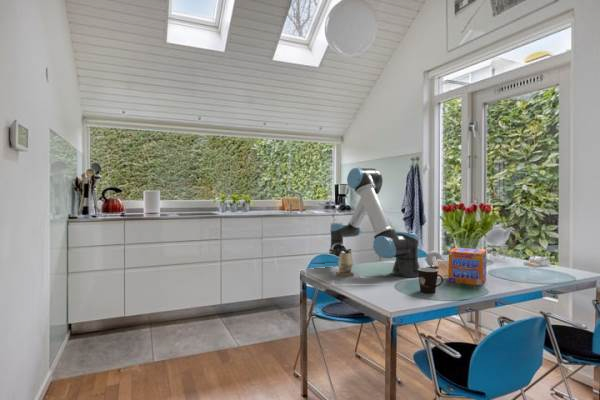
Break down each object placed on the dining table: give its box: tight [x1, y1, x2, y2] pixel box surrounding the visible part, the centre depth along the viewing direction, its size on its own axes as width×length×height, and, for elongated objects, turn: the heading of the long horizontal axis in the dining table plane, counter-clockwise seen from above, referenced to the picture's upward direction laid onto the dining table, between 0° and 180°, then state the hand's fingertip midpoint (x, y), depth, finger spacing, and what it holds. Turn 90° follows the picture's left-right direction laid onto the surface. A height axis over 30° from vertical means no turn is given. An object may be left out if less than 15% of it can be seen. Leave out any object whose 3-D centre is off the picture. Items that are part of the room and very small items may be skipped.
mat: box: [327, 271, 363, 280], centre depth 193 cm, size 16×16×2 cm
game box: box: [447, 247, 487, 287], centre depth 184 cm, size 16×16×16 cm
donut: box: [425, 250, 443, 268], centre depth 218 cm, size 10×4×10 cm, turn 101°
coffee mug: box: [418, 267, 444, 295], centre depth 162 cm, size 12×9×10 cm
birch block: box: [337, 252, 354, 272], centre depth 191 cm, size 6×6×12 cm
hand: (343, 255), depth 192 cm, fingers closed
